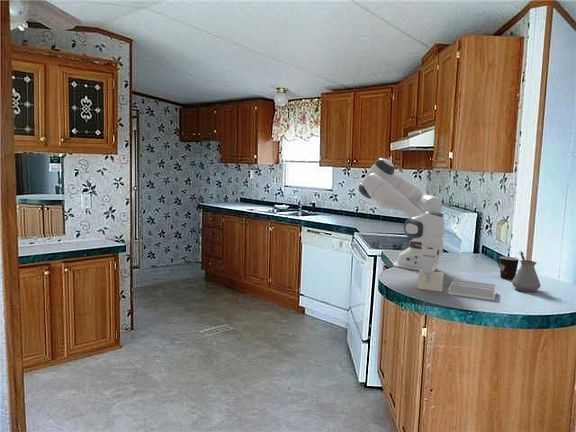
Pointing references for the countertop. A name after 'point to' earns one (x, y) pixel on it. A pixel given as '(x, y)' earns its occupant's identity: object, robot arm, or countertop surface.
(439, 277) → the ceramic tile
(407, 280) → the countertop surface
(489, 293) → the dish rack
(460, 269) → the countertop surface
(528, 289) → the coffee pot
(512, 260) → the coffee mug
